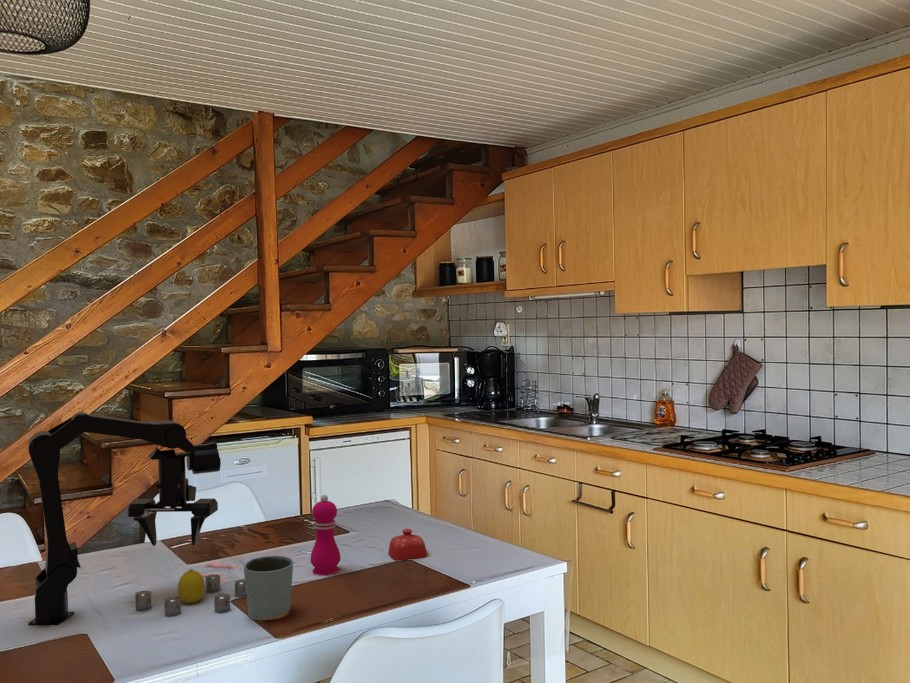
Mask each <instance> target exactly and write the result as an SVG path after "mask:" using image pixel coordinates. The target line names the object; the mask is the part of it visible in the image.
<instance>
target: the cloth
mask: <svg viewBox="0 0 910 683" xmlns="http://www.w3.org/2000/svg"><path fill="white" fill-rule="evenodd" d="M211 562H212V561H210V562H209V563H206V564H205V566H204V568H213V567H215V568H214V569H226V568H228V569H227V570H236V569H235V568H239V569H240V567H239V566H235V565H234V564H231V563H229V564H224V563H222V562H220V561H214V562H213V563H211ZM221 563H222V564H221ZM200 574H201V575H202V577H203V578H206V576H208V575H212V574H213V573H200ZM226 574H227V573H225V574H224V573H219V574H218V575H220V583H221V582H222V583H223V582H226V581H229V580H230V578H223V576H226ZM222 575H223V576H222ZM221 577H222V578H221Z"/></svg>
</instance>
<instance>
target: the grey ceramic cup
mask: <svg viewBox="0 0 910 683" xmlns="http://www.w3.org/2000/svg"><path fill="white" fill-rule="evenodd" d="M293 569H294V561H293V559H292V558H291V557H288V556H284V555H265V556H259V557H255V558H251V559H250V560H248V561H246V562H245V563H244V565H243V573H244V574H243V575H244V579H245V583H246V593H247V596H246V603H247V604H246V605H247V618H248V617H249V618H251V619H255V620H258V619H259V620H261V619H262V620H263V619H270V618H274V617H278V616H281V615H284V614H286V613H287V612H288V611H289V610H290V611H291V606H292V605H291V604H292V591H293V590H292V588H293V572H294V570H293ZM249 618H248V619H249ZM251 619H250V620H251Z"/></svg>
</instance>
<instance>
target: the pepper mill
mask: <svg viewBox="0 0 910 683" xmlns="http://www.w3.org/2000/svg"><path fill="white" fill-rule="evenodd" d="M328 499H329V496H328V495H326V494H322V495H321V497H320V501H318V502H316V503H315V504H314V505H313V507H312V510H311V514H312V518H313V519H314V520H315V521H314V522H313V523H314V524H313V525H314V528H315V530H316V531H315V532H316V535H315V542H314V545H313V548H312V550H311V554H310V564H311V565H312V566H313V569H312V574H314V575H316V574H318V575H317V576H326V575H325V574H330V575H333V574H332V573H334V574H336V573H338V572H339V571H338V570H339V569H340V568H339V567H338V565H339V564H340V562H341V552H340V549H339V546H338V545H337V543H336V540H335V535H334V534H335V533H334V531H335V530H334V528H335V527H336V524H335V523H336V520H335V518H336V517H337V514H338V508H337V506H336V504H335V503H334V502H332V501H331V500H330V501H329V500H328ZM337 571H338V572H337ZM335 572H336V573H335ZM319 574H320V575H319Z"/></svg>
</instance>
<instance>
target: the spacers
mask: <svg viewBox="0 0 910 683" xmlns="http://www.w3.org/2000/svg"><path fill="white" fill-rule="evenodd" d="M211 574H212V575H208V576H206V577H205V592H206V593H209V594H210V593H212V594H213V593H217V592H220V591H221V582H220V578H221V576H220V575H219V574H217V573H216V574H215V573H211ZM234 597H236V598H245V597H246V598H247V593H246V583H245V578H242V579H237V580H235V581H234ZM134 598H135V599H134V600H135V603H134V604H135V611H136V612H145V611H149V610H151V609H152V591H151V590H141V591H138V592H135V594H134ZM213 601H214V613H216V614H222V613H227V612H229V611H231V594H229V593H219V594H217V595H214V600H213ZM181 613H182V600H181V597H179V595H178V596H176V595H175V596H174V595H173V596H172V595H171V596H169V597H166V598H164V616H165V617H176V616H179V615H180V614H181Z"/></svg>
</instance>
